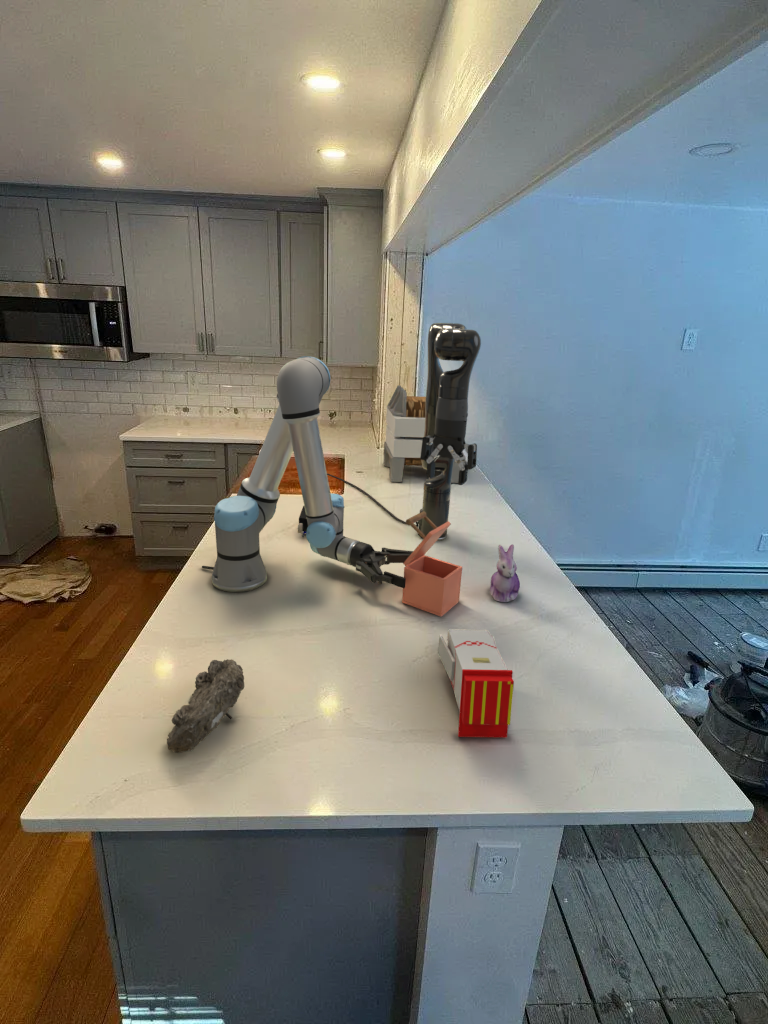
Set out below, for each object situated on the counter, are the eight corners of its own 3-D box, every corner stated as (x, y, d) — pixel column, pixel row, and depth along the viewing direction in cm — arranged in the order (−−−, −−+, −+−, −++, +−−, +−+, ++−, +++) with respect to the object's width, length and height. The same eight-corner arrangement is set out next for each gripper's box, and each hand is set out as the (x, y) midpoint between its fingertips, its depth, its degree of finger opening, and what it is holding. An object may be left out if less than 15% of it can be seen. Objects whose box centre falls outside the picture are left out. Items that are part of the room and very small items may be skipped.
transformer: (382, 463, 289) (386, 382, 275) (445, 464, 293) (451, 384, 279) (390, 482, 257) (394, 392, 243) (460, 483, 261) (468, 394, 247)
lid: (451, 523, 150) (430, 502, 152) (432, 535, 142) (410, 512, 144) (425, 554, 157) (405, 533, 159) (405, 566, 149) (385, 544, 151)
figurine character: (316, 543, 192) (320, 523, 205) (316, 523, 188) (320, 504, 202) (297, 543, 191) (302, 522, 205) (296, 523, 188) (301, 503, 202)
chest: (459, 601, 155) (462, 566, 152) (441, 616, 147) (444, 580, 144) (421, 588, 161) (423, 554, 158) (401, 602, 153) (404, 567, 150)
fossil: (192, 660, 117) (244, 628, 112) (224, 691, 120) (276, 661, 115) (142, 746, 98) (202, 712, 93) (182, 779, 101) (242, 748, 96)
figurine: (502, 606, 153) (509, 556, 148) (479, 590, 162) (485, 541, 157) (529, 600, 157) (536, 550, 152) (505, 584, 166) (512, 537, 161)
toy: (488, 613, 130) (523, 677, 101) (484, 667, 133) (517, 744, 104) (435, 612, 130) (455, 676, 101) (432, 666, 133) (451, 743, 103)
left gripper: (380, 552, 176) (439, 571, 165) (328, 580, 157) (391, 604, 145) (381, 529, 174) (441, 547, 162) (328, 555, 154) (393, 577, 143)
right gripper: (418, 414, 137) (413, 478, 142) (471, 422, 129) (465, 490, 135) (433, 410, 143) (428, 472, 148) (485, 418, 135) (478, 483, 141)
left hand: (418, 574), depth 154 cm, fingers open, 13 cm apart
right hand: (446, 480), depth 142 cm, fingers open, 8 cm apart
